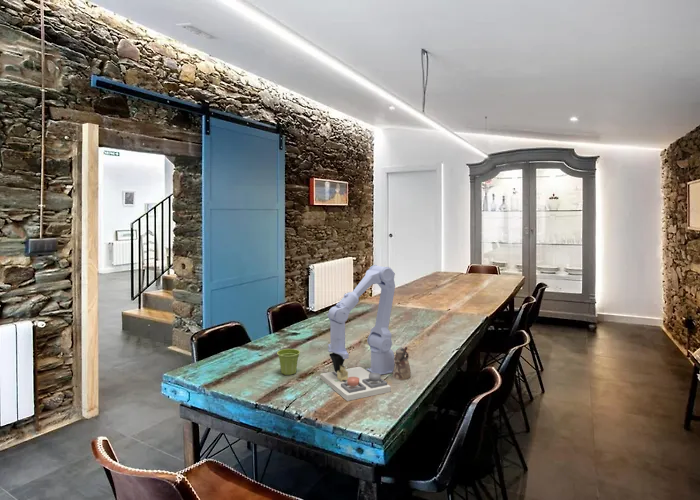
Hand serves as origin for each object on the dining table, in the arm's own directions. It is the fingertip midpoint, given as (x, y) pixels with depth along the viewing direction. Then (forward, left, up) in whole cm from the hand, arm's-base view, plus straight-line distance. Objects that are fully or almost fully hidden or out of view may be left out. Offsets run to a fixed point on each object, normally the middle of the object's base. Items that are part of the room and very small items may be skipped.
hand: (338, 371), depth 169 cm
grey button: (-9, +13, 0) cm, 16 cm away
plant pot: (+14, -18, -4) cm, 23 cm away
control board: (-4, +6, -4) cm, 8 cm away
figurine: (-25, +7, -4) cm, 26 cm away
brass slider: (0, +4, -1) cm, 4 cm away
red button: (0, +13, 0) cm, 13 cm away
